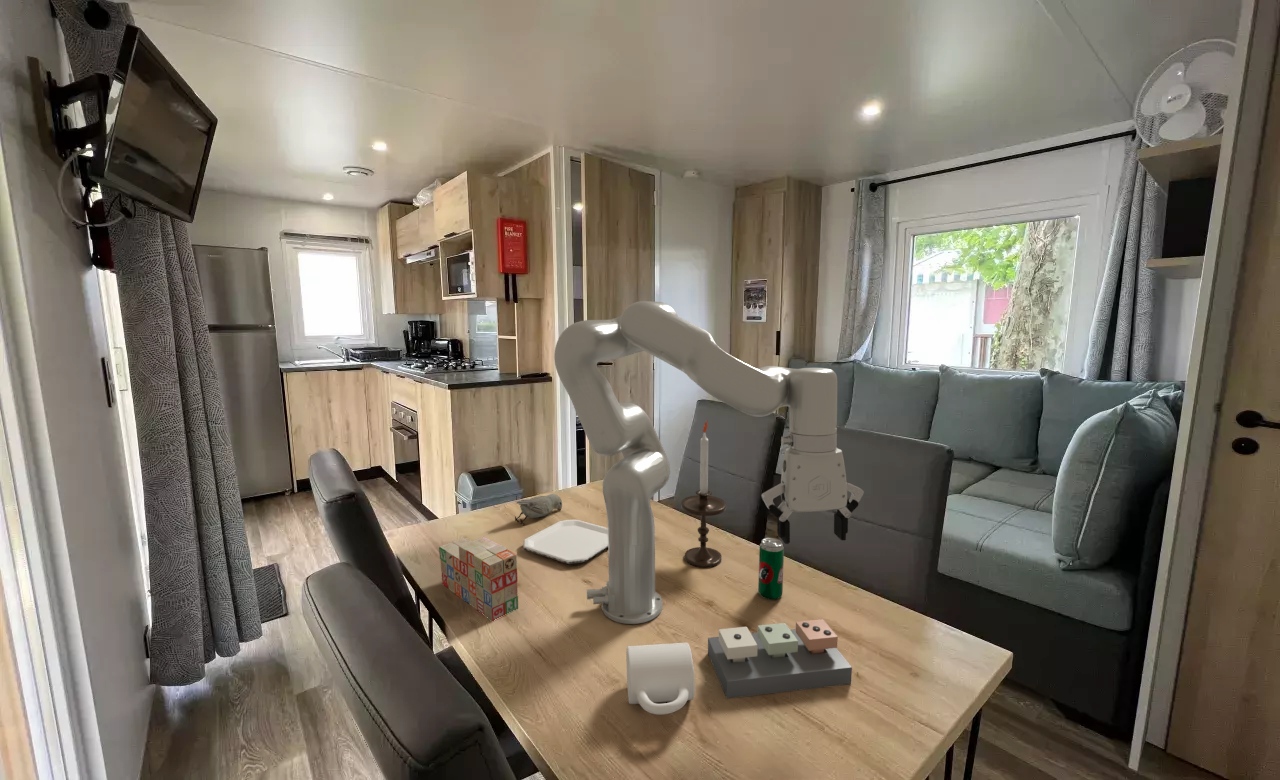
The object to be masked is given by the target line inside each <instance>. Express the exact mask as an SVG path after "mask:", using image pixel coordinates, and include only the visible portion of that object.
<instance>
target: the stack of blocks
mask: <svg viewBox="0 0 1280 780" xmlns="http://www.w3.org/2000/svg"><path fill="white" fill-rule="evenodd" d="M438 550H439V551H438V552H439V559H440V570H441V584H442V585H444V586H445V587H446V588H447V589H448V590H449V591H451V592H452V593H453V594H455V595H456V596H458V598H460V599H462V600H463V601H464V600H465V601H464V602H466V603H467V602H468V603H469V605H470V604H471V605H472V606H471V605H470V606H471V607H473V608H474V607H475V608H476V610H478V611H477V612H479V611H480V612H481V613H483V614H484V615H485V616H486V617H485V616H484V615H483V614H482V615H483V616H484V617H485V618H487V617H488V618H489V619H490V620H491V622H492V621H493V622H495V621H496V620H495V619H497V618H499V617H501V616H503V615H505V614H507V613H509V612H511V611H513V610H515V611H516V609H517V610H518V609H519V596H518V565H517V564H518V563H517V562H518V560H517V557H518V556H517V554H516V553H515V552H513V551H511V550H510V549H508V548H507V547H505V546H504V545H501V544H499V543H497V542H495V541H493V540H491V539H489V538H487V537H485V536H482V537H479V538H477V539H474V540H471V541H470V540H469V539H467V538H466V537H462V538H459V539H456V540H454V541H451V542H449V543H445V544H443V545H440V546H438ZM468 603H467V604H468ZM475 608H474V609H475ZM480 612H479V613H480ZM513 612H514V611H513ZM481 613H480V614H481ZM511 613H512V612H511ZM509 614H510V613H509ZM507 615H508V614H507ZM505 616H506V615H505ZM503 617H504V616H503ZM488 618H487V619H488ZM501 618H502V617H501ZM489 619H488V620H489ZM499 619H500V618H499ZM494 620H495V621H494ZM497 620H498V619H497Z"/></svg>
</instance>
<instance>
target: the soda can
mask: <svg viewBox="0 0 1280 780" xmlns="http://www.w3.org/2000/svg"><path fill="white" fill-rule="evenodd" d="M758 550H759V551H758V554H759V555H758V583H757V585H758V590H757V591H758V594H759V595H760V596H761V597H763V598H764V599H765V600H771V601H774V600H779V599H780V598H782V596H783V588H784V585H783V584H784V562H785V559H784V557H785V548H784V545H783V541H782V540H780V539H779V538H774V537H764V538H763V539H761V543H760V544H759V549H758Z"/></svg>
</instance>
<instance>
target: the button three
mask: <svg viewBox="0 0 1280 780" xmlns="http://www.w3.org/2000/svg"><path fill="white" fill-rule="evenodd" d="M795 629H796V633H797V635H798V636H799V638H800V639H801V640H802V642H803V643H804V644H805V646H806V647H807V649H808V650H809V652H810V653H811V654H819V653H824V649H829V648H837V649H838V640H839V637H838V635H837V634H836V633H835V632H834V630H833V629H832V628H831V627H830V626H829V624H828V623H827V622H826V621H825V620H824V619H823V618H819V619H812V620H811V619H810V620H801V621H795Z"/></svg>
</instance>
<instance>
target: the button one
mask: <svg viewBox="0 0 1280 780" xmlns="http://www.w3.org/2000/svg"><path fill="white" fill-rule="evenodd" d="M751 633H752V632H751V631H750V630H749V628H748V627H747V626H739V627H729V628H720V629H718V637H719V642H720V644H721V646H722V648H723V650H724V653H725V655H726V657H727V659H730V661H731V663H736V662H745V657H755V656H757V643H756V642H755V640H754V638H753V636H752V635H751Z"/></svg>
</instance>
